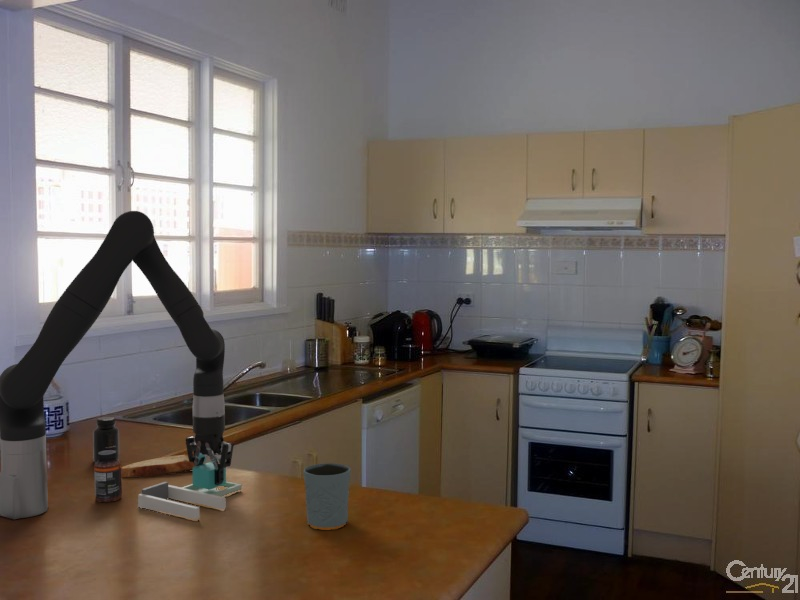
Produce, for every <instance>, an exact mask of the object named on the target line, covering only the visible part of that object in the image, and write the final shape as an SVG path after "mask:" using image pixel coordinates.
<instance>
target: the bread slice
mask: <svg viewBox="0 0 800 600" xmlns="http://www.w3.org/2000/svg"><path fill="white" fill-rule="evenodd" d="M193 467H195V465H194V463H193V462H189V458H188V454H181V455H179V454H178V455H168V456H163V457H157V458H151V459H146V460H141V461H138V462H132V463H130V464H126V465H123V466H121V478H138V477H150V476H151V477H153V475H154V476H161V475H162V476H163V474H166V475H172V474H171V473H176V474H179V473H178V472H183V473H186V472H185V471H187V472H191V471H190V470H193Z"/></svg>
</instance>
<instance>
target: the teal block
mask: <svg viewBox="0 0 800 600" xmlns="http://www.w3.org/2000/svg"><path fill="white" fill-rule="evenodd" d="M226 468H227V467H225V468H224V481H223V483H222V484H220V485H215V471H214V470H215V468H214V465H213V462H212V461H209V462H206V463H204V464H202V465H199V466H195V467H193V471H192V484H193V486H196V487H200V488H204V489H209V490H210V489H213V488H215V487H218V486H221V485H224V484H226V481H227V474H226V473H227V469H226Z"/></svg>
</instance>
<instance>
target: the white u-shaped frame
mask: <svg viewBox="0 0 800 600" xmlns="http://www.w3.org/2000/svg"><path fill="white" fill-rule="evenodd" d="M167 498H172V499H177V500H182V501H188V502H192V503H198V504H203V505H207V506H211V507H215V508H220V509H224V508H226V509H227V503H226V501H227V499H226V498H227V497H226V498H225V497H221V496H216V495H212V494H207V493H203V492H199V491H194V490H190V489H185V488H181V487H180V486H176V485H173V484H172V485H171V484H169V482H168V481H162V482H160V483H156V484H154V485H151V486H147V487H144V488H141V493H139V494H138V495H137V502H138V503H137V504H138V505H137V506H138V507H140V508H139V509H142V508H146V509H151V510H156V511H162V512H166V513H171V514H175V515H180V516H184V517H188V518H192V519H198V518H200V514H201V513H200V512H201V511H200V506H196V505H192V504H188V503H183V502H179V501H175V500H171V499H167ZM166 499H167V500H166ZM138 507H137V508H138ZM146 509H145V510H146ZM200 519H201V518H200Z"/></svg>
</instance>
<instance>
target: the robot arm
mask: <svg viewBox="0 0 800 600" xmlns="http://www.w3.org/2000/svg"><path fill="white" fill-rule="evenodd" d="M154 231H155V227H154V224H153V223H152V221H151V219H150V217H149V216H148V215H146V214H145V213H143V212H142V211H137V210H130V211H125V212H123V213H122V214H120V215H118V216H117V218H115V220H114V221H113V223H112V225H111V227H110V229H109V230H108V232H107V234H106V236H105V238H104V240H103V241H102V243H101V245H100V246H99V247H98V249H97V251H96V253H95V254H94V255H93V256H92V258H90V260H89V261H88V262H87V263H86V264H85V266H83V268H82V269H81V270H80V271H79V272H78V273H77V275H76V276H75V277H74V278H73V280H72V281H71V282H70V283H69V285H68V286H67V287H66V289H65V290H64V291H63V293H62V294H61V295H60V296H59V298H58V299H57V300H56V302H55V303H54V305H53V307H52V309H51V310H50V312H49V314H48V316H47V318H46V319H45V321H44V323H43V325H42V328H41V329H40V332H39V334H38V335H37V338H36V340H35V341H34V342H33V344H32V345H31V346H30V348H29V349H28V351H27V352H26V353H25V355H23V357H22V358H21V359H20V361H18V362H17V363H15V364H12V365H10V366H7V367H6V368H5V369H4V370H3V372H2V373H1V374H0V517H5V518H7V519H10V520H17V519H18V520H19V519H24V518H30V517H31V518H32V517H35V516H39V515H41V514H42V515H43V514H44V513H45V512H47V511H48V509H49V506H48V505H49V504H48V503H49V501H48V473H47V472H48V468H47V467H48V465H47V461H48V460H47V435H46V434H47V433H46V431H47V430H46V429H47V427H46V420H45V419H46V417H45V410H44V408H45V407H44V405H45V403H44V396H45V394H46V392H47V391H48V389H49V387H50V385H51V383H52V381H53V379H54V378H55V376H56V374H57V373H58V371H59V369H60V368H61V366H62V364H63V363H64V361H65V360H66V358H68V357H69V355H70V354H71V352H73V351H74V349H75V348H76V347H77V345H78V344H79V343H80V342H81V340H82V339H83V338H84V336H86V334H87V333H88V331H90V329H91V328H92V326H93V325H94V323H95V322H96V321H97V320H98V318H99V317H100V315H101V314H102V312H103V311H104V310H105V308H106V306H107V304H108V303H109V301H110V299H111V297H112V295H113V293H114V291H115V289H116V287H117V285H118V283H119V281H120V279H121V277H122V275H123V273H124V272H125V271H126V269H127V268H128V266H130V264H131V263H132V262H133V263H134V264H135V265H136V266H137V267H138V269H139V270H140V271H141V272H142V273H143V275H144V276H145V278H146V280H147V281H148V283H149V284H150V285H151V288H152V289H153V290H154V292H155V294H156V295H157V297H158V299H159V300H160V302H161V304H162V305H163V307H164V308H165V310H166V311H167V313H168V315H169V316H170V318H171V319H172V320H173V322H174V323H175V325H176V326H177V327H178V329H179V332H180V334H181V336H182V339H183V340H184V342H185V344H186V346H187V348H188V350H189V352H191V354H192V356H194V357H195V360H196V361H195V363H196V364H195V371H194V374H193V379H192V380H193V385H192V386H193V390H192V391H193V393H192V394H193V396H192V397H193V398H192V432H193V433H194V435H193V436H188V437H186V438H185V445H186V452H187V455H188V458H189V462H193V463H194V465H195V466H199V465H202V464H205V462H206V459H207V457H209V459H210V462H211V463H213V465H214V468H215V470H214V471H215V485H220V484H222V483H223V481H224V468H225V467H226V468H229V467H231V465H232V459H233V457H232V456H233V453H234V452H233V451H234V443H233V442H227V441H225V438H224V432H225V430H226V412H225V411H226V408H225V407H226V406H225V404H226V403H225V402H226V401H225V397H224V364H225V355H226V354H225V352H226V351H225V350H226V349H225V347H226V346H225V345H226V344H225V339H224V336H223V335H222V333H220V332H219V330H216V329H213V328H211V327H210V325H209V324H208V322H207V320H206V319H205V317H204V314H205V313H204V311H203V308H202V307H201V305H200V304H199V303H198V301H197V299H196V298H195V296H194V294H193V293H192V292H191V290H190V289H189V287H188V286H187V284H186V283H185V282H184V280H182V279H181V278H180V276H179V275H178V274H177V272H176V271H174V269H173V268H172V266H171V265H170V263H169V262H168V261H167V259H166V258H165V256H164V254H163V252H162V250H161V248H160V245H159V244H158V242H157V239H156V238H155V232H154Z"/></svg>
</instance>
